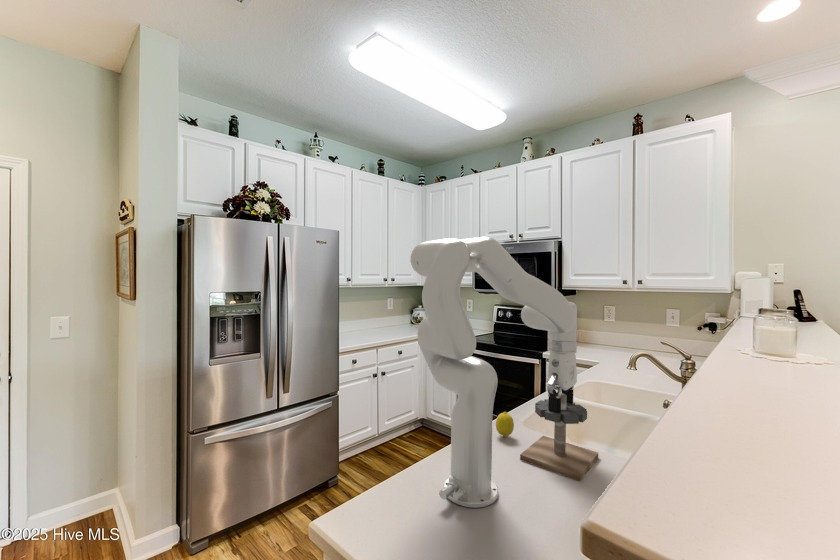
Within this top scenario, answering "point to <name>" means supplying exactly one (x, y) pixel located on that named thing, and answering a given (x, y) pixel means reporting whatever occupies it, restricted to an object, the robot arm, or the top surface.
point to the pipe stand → (560, 453)
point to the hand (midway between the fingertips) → (561, 406)
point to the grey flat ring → (562, 413)
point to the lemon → (504, 424)
